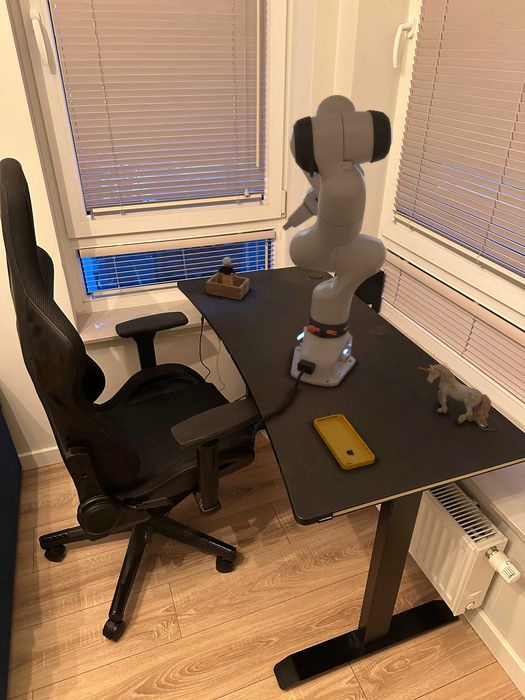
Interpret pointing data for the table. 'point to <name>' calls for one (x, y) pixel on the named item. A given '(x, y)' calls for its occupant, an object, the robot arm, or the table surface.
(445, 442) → the table surface
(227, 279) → the grandmother figurine
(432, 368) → the unicorn figurine
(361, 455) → the phone case
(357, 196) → the robot arm
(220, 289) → the holder
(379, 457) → the table surface
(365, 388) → the table surface
